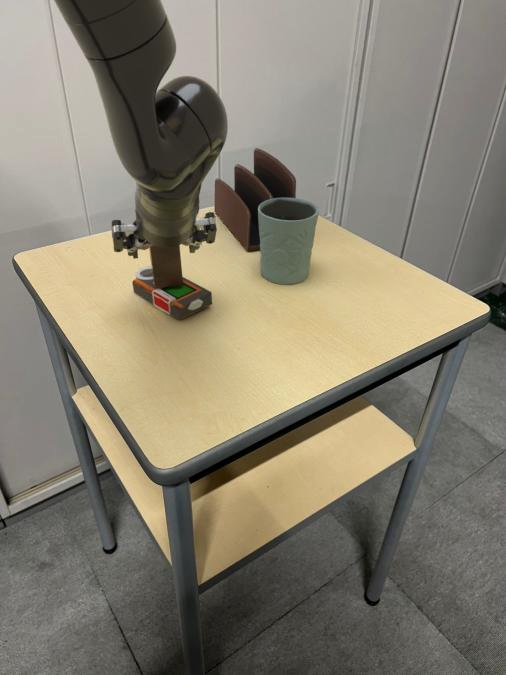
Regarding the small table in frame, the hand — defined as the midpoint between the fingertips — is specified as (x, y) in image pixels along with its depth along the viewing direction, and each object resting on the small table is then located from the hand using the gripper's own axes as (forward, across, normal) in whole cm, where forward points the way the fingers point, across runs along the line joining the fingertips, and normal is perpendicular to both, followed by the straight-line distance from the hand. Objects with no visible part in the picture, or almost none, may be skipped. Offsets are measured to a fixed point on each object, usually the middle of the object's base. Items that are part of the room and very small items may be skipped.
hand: (163, 249), depth 79 cm
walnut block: (+5, 0, +4) cm, 6 cm away
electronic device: (+7, 0, +6) cm, 9 cm away
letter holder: (+23, -20, -10) cm, 33 cm away
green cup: (+10, -21, +3) cm, 24 cm away
